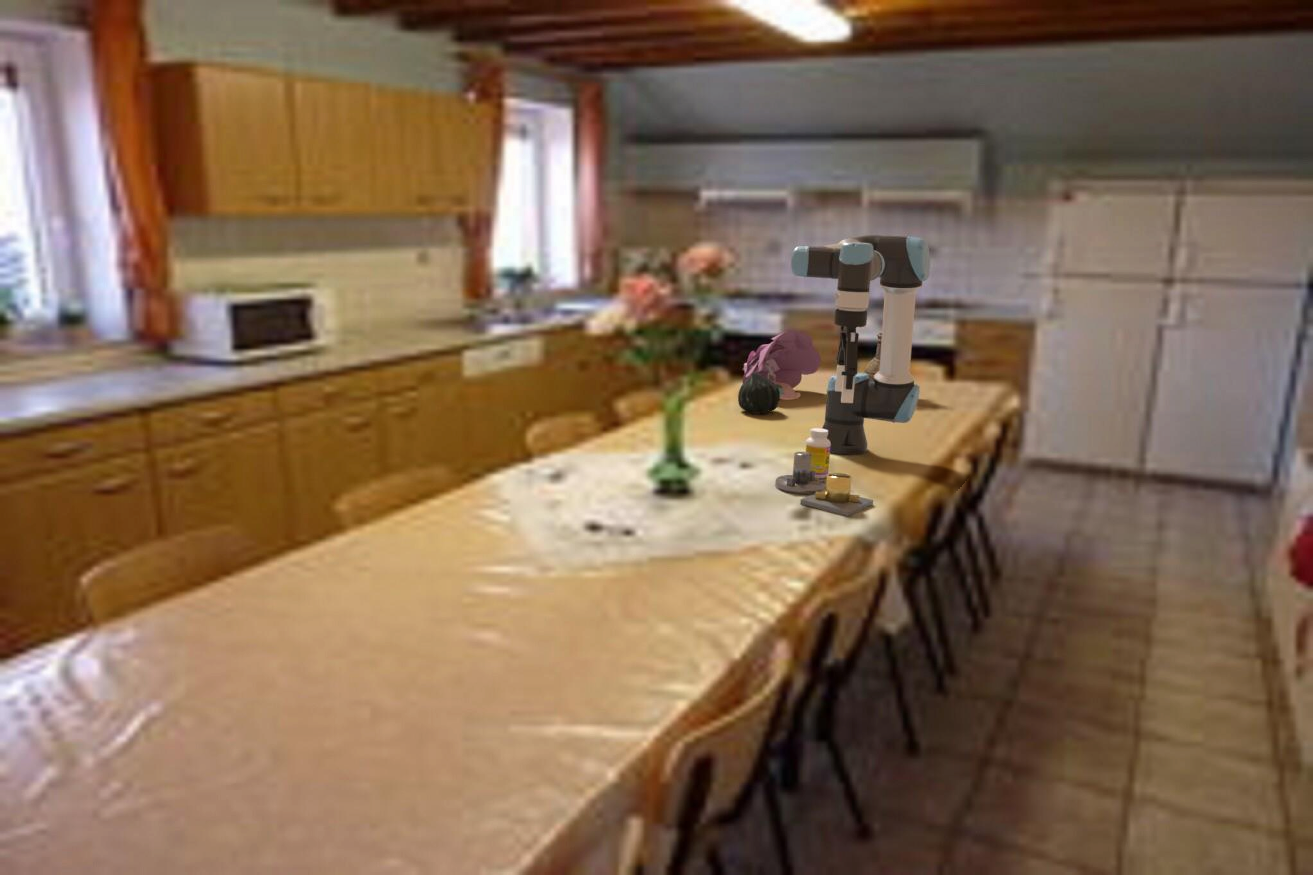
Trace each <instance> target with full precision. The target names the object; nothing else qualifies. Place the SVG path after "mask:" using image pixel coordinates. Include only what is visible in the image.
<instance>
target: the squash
mask: <svg viewBox="0 0 1313 875" xmlns="http://www.w3.org/2000/svg"><path fill="white" fill-rule="evenodd" d="M780 400H781V399H780V392H779V389H778V387H777V385H776V384H775V383H774V382H772V381H771V380H770V379H768V378H766V377H764V376H763V375H761V374H758V373H754V372H753V373H752V374H751V375H750V376H749V377H748V379H747V380H746V381H745V382H744V383H743V382H742V385H741V386H740V388H739V390H738V395H737V401H738V402H737V403H738V405H739V407H740V408H741V409H742V410H744V412H746V413H750V414H752V413H753V414H755V415H758V414H762V415H767V414H768V413H769V412H772V411H773V412H774V411H775V410H776V408H777V406H778V405H779V403H780Z"/></svg>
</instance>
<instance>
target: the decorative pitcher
mask: <svg viewBox="0 0 1313 875" xmlns="http://www.w3.org/2000/svg"><path fill="white" fill-rule="evenodd" d="M876 336H877V338H876V341H877V345H876V346H877V347H876V353H875V356H874V357H873V358H872V359H871V360H870V361H869V362H868V363H867V365H866V367H865V368H864V371H863V373H866V374H868V377H869V380H874V375H875V374H876V373H877V372H878V371H879V370H880V355H881V340H882V332H878V333H876Z"/></svg>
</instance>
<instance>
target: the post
mask: <svg viewBox="0 0 1313 875" xmlns="http://www.w3.org/2000/svg"><path fill="white" fill-rule="evenodd" d="M811 457H812V454H810V453H807V452H805V451H796V452H794V456H793V468H792V474H786V475H780V476H778V477H776V478H775V484H774V486H775V489H778V490H780V491H782V492H784V493H789V494H794V495H799V496H800V495H801V496H810V495H813V494H815V493H816V491H817V492H820V491H823V490H825V489H826V481H825V480H822V478H815V471H813V470H810V469H811Z"/></svg>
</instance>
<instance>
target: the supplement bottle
mask: <svg viewBox="0 0 1313 875" xmlns="http://www.w3.org/2000/svg"><path fill="white" fill-rule="evenodd" d="M809 433H810V437H808V438H807V439H806V440H805V451H804V452H807V453H810V454H812V457H811V469H810V470H813V471H815V478H818V479H825V478H827V474H829V466H830V457H831V456H830V455H831V453H830V446H831V443H830V441H829V440H828V439H827V435H828V430H826V429H822V427H819V428H818V427H814V428H811V429H810V432H809Z"/></svg>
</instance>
